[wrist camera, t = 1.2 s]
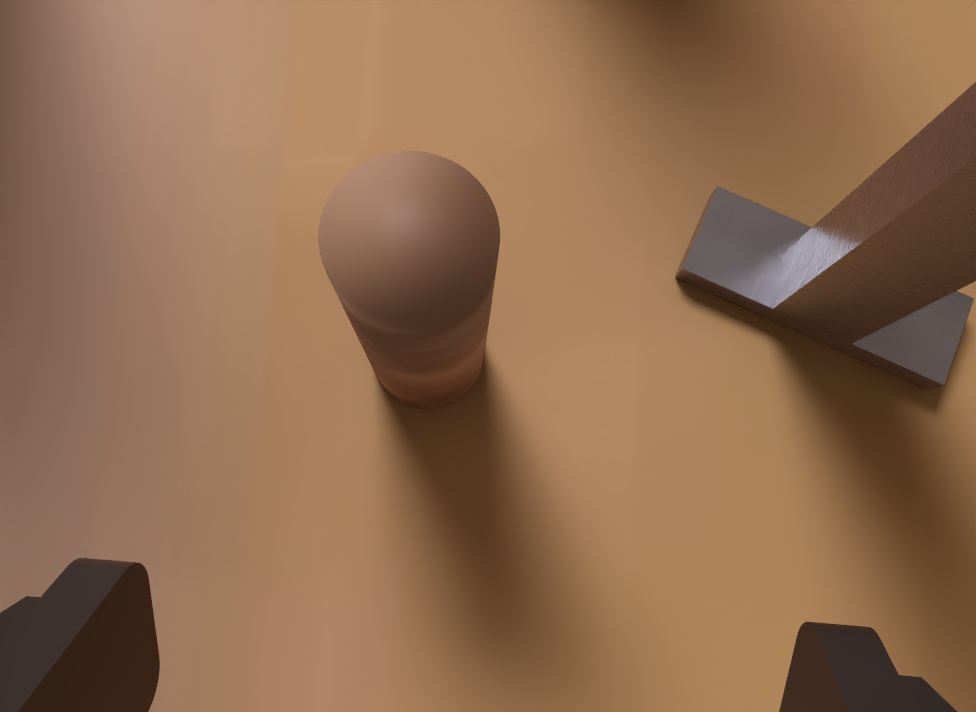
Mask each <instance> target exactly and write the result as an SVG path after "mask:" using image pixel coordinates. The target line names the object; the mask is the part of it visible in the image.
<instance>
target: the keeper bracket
mask: <svg viewBox="0 0 976 712" xmlns="http://www.w3.org/2000/svg"><path fill="white" fill-rule="evenodd" d="M675 277H676V278H679V279H681V280H683V281H685V282H688V283H690V284H692V285H694V286H697V287H699V288H701V289H703V290H706V291H708V292H710V293H712V294H714V295H717V296H719V297H721V298H723V299H726V300H728V301H730V302H732V303H735V304H737V305H739V306H741V307H744V308H746V309H748V310H750V311H753V312H755V313H757V314H759V315H761V316H764V317H766V318H768V319H770V320H773V321H775V322H777V323H779V324H782V325H784V326H786V327H788V328H791V329H793V330H795V331H797V332H800V333H802V334H804V335H806V336H809V337H811V338H813V339H815V340H817V341H820V342H822V343H824V344H826V345H829V346H831V347H833V348H835V349H838V350H840V351H842V352H844V353H847V354H849V355H851V356H853V357H856V358H858V359H860V360H862V361H865V362H867V363H869V364H871V365H873V366H876V367H878V368H880V369H882V370H885V371H887V372H889V373H891V374H894V375H896V376H898V377H900V378H903V379H905V380H907V381H909V382H912V383H914V384H916V385H918V386H920V387H923V388H925V389H927V390H931V389H934V388H937V387H940V386H943V385H944V384H945V382H946V379H947V376H948V373H949V370H950V367H951V364H952V361H953V358H954V355H955V352H956V350H957V347H958V344H959V341H960V338H961V335H962V332H963V329H964V326H965V323H966V320H967V318H968V315H969V312H970V309H971V306H972V303H973V300H974V298H971V297H969V296H967V295H965V294H962V293H960V292H958V291H957V290H959V289H961V288H963V287H965V286H967V285H969V284H971V283H973V282H975V281H976V82H975V83H974V84H973V85H972V86H971V87H970V88H968V89H967V90H966V91H965V92H964V93H963V94H962V95H961V96H959V97H958V98H957V99H956V100H955V101H954V102H953V103H952V104H950V105H949V106H948V107H947V108H946V109H945V110H944V111H943V112H941V113H940V114H939V115H938V116H937V117H936V118H935V119H934V120H932V121H931V122H930V123H929V124H928V125H927V126H926V127H925V128H923V129H922V130H921V131H920V132H919V133H918V134H917V135H916V136H914V137H913V138H912V139H911V140H910V141H909V142H908V143H907V144H905V145H904V146H903V147H902V148H901V149H900V150H899V151H898V152H896V153H895V154H894V155H893V156H892V157H891V158H890V159H889V160H887V161H886V162H885V163H884V164H883V165H882V166H881V167H880V168H878V169H877V170H876V171H875V172H874V173H873V174H872V175H871V176H869V177H868V178H867V179H866V180H865V181H864V182H863V183H862V184H860V185H859V186H858V187H857V188H856V189H855V190H854V191H853V192H851V193H850V194H849V195H848V196H847V197H846V198H845V199H844V200H842V201H841V202H840V203H839V204H838V205H837V206H836V207H835V208H833V209H832V210H831V211H830V212H829V213H828V214H827V215H826V216H824V217H823V218H822V219H821V220H820V221H819V222H818V223H817V224H815V225H814V226H813V227H809V226H807V225H805V224H803V223H800V222H798V221H796V220H793V219H791V218H789V217H787V216H784V215H782V214H780V213H777V212H775V211H773V210H771V209H768V208H766V207H764V206H761V205H759V204H757V203H755V202H752V201H750V200H748V199H745V198H743V197H741V196H739V195H736V194H734V193H732V192H729V191H727V190H725V189H723V188H720V187H717V188H716V189H715V191H714V192H713V193H712V195H711V196H710V198H709V200H708V202H707V205H706V207H705V209H704V212H703V214H702V216H701V219H700V221H699V223H698V225H697V228H696V230H695V232H694V235H693V237H692V239H691V242H690V244H689V246H688V249H687V251H686V253H685V256H684V258H683V260H682V263H681V265H680V267H679V270H678V272H677V274H676V276H675Z"/></svg>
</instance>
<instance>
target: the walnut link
mask: <svg viewBox="0 0 976 712" xmlns="http://www.w3.org/2000/svg"><path fill="white" fill-rule="evenodd" d="M499 244H500V227H499V221H498V216H497V213H496V210H495V207H494V205H493V202H492V200H491V198H490V196H489V195H488V193H487V192H486V190H485V188H484V187H483V186H482V185H481V183H480V182H479V181H478V180H477V179H476V178H475V177H474V176H473V175H472V174H471V173H470V172H469V171H467V170H466V169H464V168H463V167H461V166H460V165H459V164H457V163H455V162H453V161H451V160H449V159H447V158H444V157H441V156H438V155H435V154H431V153H426V152H417V151H402V152H394V153H389V154H385V155H381V156H378V157H376V158H373V159H371V160H369V161H367V162H365V163H363V164H361V165H359V166H358V167H357V168H355V169H354V170H352V171H351V172H350V173H349V174H348V175H346V176H345V177H344V178H343V179H342V180H341V181H340V183H339V184H338V185H337V186H336V187H335V189H334V190H333V192H332V193H331V195H330V196H329V198H328V200H327V202H326V205H325V207H324V209H323V212H322V216H321V219H320V225H319V250H320V255H321V259H322V263H323V265H324V268H325V270H326V272H327V275H328V277H329V279H330V281H331V283H332V285H333V287H334V289H335V291H336V293H337V295H338V297H339V299H340V302H341V304H342V306H343V308H344V310H345V312H346V314H347V316H348V318H349V320H350V322H351V324H352V326H353V328H354V330H355V332H356V334H357V336H358V339H359V341H360V343H361V345H362V347H363V349H364V351H365V353H366V355H367V357H368V359H369V361H370V363H371V365H372V367H373V369H374V371H375V374H376V376H377V378H378V379H379V381H380V383H381V385H382V386H383V387H384V388H385V390H386V391H387V392H388V393H389V394H390V395H391V396H393V397H394V398H396V399H397V400H399V401H400V402H402V403H404V404H407V405H409V406H413V407H417V408H425V409H426V408H438V407H442V406H446V405H449V404H451V403H453V402H455V401H457V400H458V399H460V398H461V397H463V396H464V395H465V394H466V393H467V392H468V391H469V390H470V389H471V388H472V387H473V385H474V384H475V382H476V381H477V379H478V377H479V375H480V372H481V369H482V365H483V360H484V353H485V346H486V338H487V331H488V324H489V317H490V310H491V303H492V296H493V289H494V281H495V274H496V267H497V260H498V253H499Z"/></svg>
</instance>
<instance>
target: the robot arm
mask: <svg viewBox="0 0 976 712" xmlns="http://www.w3.org/2000/svg"><path fill="white" fill-rule="evenodd" d="M159 665H160V661H159V652H158V644H157V637H156V629H155V622H154V615H153V607H152V600H151V593H150V585H149V578H148V574H147V571H146V569H145V567H144V566H143V565H142V564H141V563H136V562H124V561H112V560H100V559H89V558H79V559H76V560H74V561H73V562H72V563H70V564H69V565H68V566H67V568H66V569H65V570H64V571H63V572H62V573H61V575H60V576H59V577H58V578H57V579H56V580H55V581H54V583H53V584H52V585H51V586H50V587H49V588H48V590H47V591H46V592H45V593H44V594H43V595H42V596H41V598H40V597H29V596H26V597H25V598H23V599H22V600H20V601H18V602H17V603H15V604H14V605H12V606H10V607H9V608H7V609H6V610H4V611H3V612H1V613H0V712H148V711H149V709H150V706H151V704H152V701H153V698H154V695H155V692H156V688H157V683H158V677H159ZM779 712H957V711H956V710H955V709H954V708H953V707H952V706H951V705H950V704H949V703H948V702H947V701H946V700H945V699H943V698H942V697H941V696H940V695H939V694H938V693H937V692H936V691H935V690H934V689H933V688H932V687H931V686H930V685H929V684H928V683H927V682H926V681H925V680H924V679H923V678H922V677H912V676H901V675H898V673H897V671H896V669H895V667H894V665H893V663H892V661H891V659H890V657H889V655H888V653H887V651H886V649H885V647H884V645H883V643H882V641H881V639H880V638H879V636H878V634H877V633H876V632H875V630H873V629H872V628H870V627H862V626H851V625H839V624H827V623H816V622H805V623H803V624H802V626H801V627H800V629H799V632H798V635H797V639H796V643H795V647H794V651H793V656H792V660H791V664H790V668H789V673H788V677H787V681H786V685H785V690H784V694H783V698H782V702H781V707H780V711H779Z"/></svg>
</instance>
